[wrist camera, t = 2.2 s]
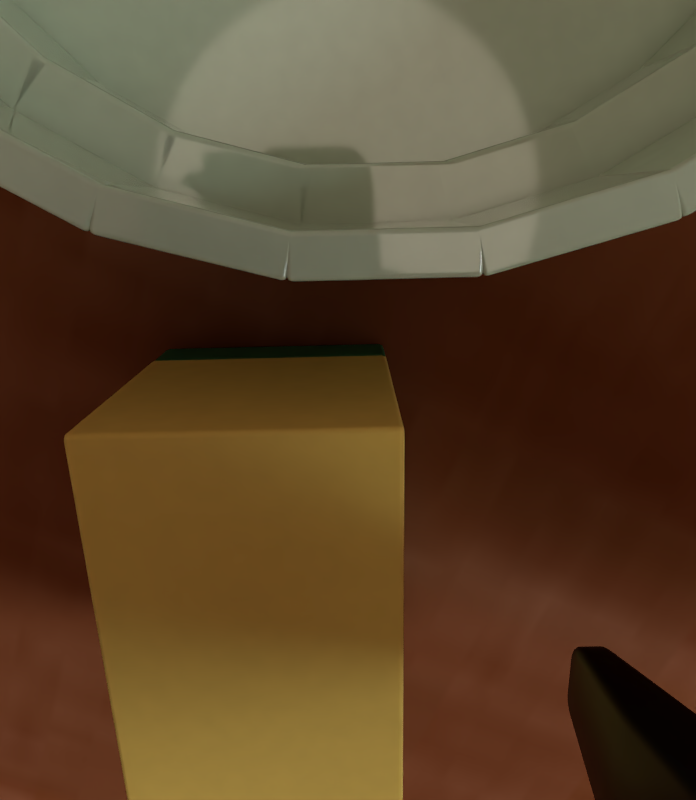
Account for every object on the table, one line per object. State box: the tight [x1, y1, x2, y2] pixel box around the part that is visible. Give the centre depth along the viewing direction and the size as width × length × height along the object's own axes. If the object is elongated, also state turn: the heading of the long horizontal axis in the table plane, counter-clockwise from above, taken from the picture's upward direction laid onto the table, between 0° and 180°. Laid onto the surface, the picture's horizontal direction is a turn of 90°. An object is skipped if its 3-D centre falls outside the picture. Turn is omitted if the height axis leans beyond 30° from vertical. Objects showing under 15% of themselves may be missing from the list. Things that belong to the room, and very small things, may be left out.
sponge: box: [64, 344, 405, 800], centre depth 11 cm, size 4×7×5 cm, turn 1°
